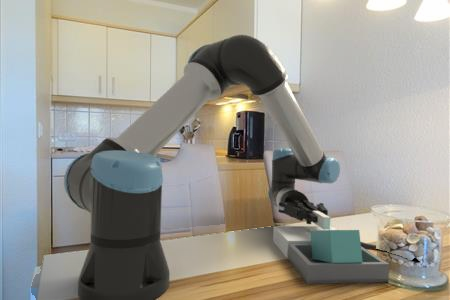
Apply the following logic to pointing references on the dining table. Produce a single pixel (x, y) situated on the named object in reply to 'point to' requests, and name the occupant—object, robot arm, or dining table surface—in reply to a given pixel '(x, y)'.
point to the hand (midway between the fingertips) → (326, 223)
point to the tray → (337, 267)
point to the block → (336, 246)
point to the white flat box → (293, 236)
